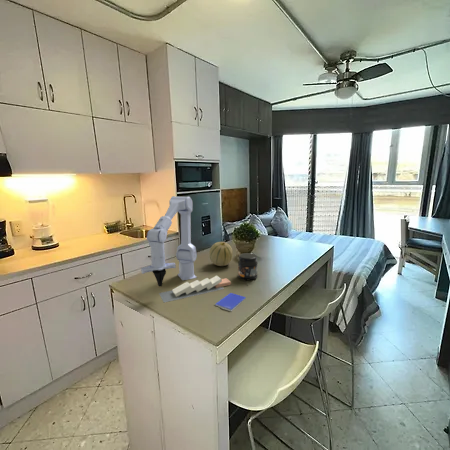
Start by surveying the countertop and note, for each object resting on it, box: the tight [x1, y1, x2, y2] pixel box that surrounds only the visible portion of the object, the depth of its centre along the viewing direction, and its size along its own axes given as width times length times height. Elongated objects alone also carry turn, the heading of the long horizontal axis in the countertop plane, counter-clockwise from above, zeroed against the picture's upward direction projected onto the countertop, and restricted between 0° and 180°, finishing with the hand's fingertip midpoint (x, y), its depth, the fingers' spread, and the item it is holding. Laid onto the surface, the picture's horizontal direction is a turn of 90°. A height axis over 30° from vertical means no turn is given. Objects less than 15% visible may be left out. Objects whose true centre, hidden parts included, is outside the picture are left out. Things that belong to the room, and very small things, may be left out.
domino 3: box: [196, 277, 212, 292], centre depth 121 cm, size 5×2×8 cm
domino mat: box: [158, 286, 225, 303], centre depth 119 cm, size 10×29×1 cm, turn 116°
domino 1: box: [171, 281, 192, 297], centre depth 116 cm, size 5×2×8 cm
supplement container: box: [237, 252, 258, 281], centre depth 134 cm, size 10×10×12 cm
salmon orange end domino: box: [215, 277, 232, 288], centre depth 125 cm, size 5×2×8 cm
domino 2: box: [185, 279, 202, 294], centre depth 118 cm, size 5×2×8 cm
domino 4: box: [206, 274, 222, 290], centre depth 123 cm, size 5×2×8 cm
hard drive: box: [214, 292, 246, 312], centre depth 108 cm, size 2×8×12 cm
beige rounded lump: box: [208, 241, 234, 267], centre depth 152 cm, size 15×15×15 cm
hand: (159, 285), depth 111 cm, fingers closed
